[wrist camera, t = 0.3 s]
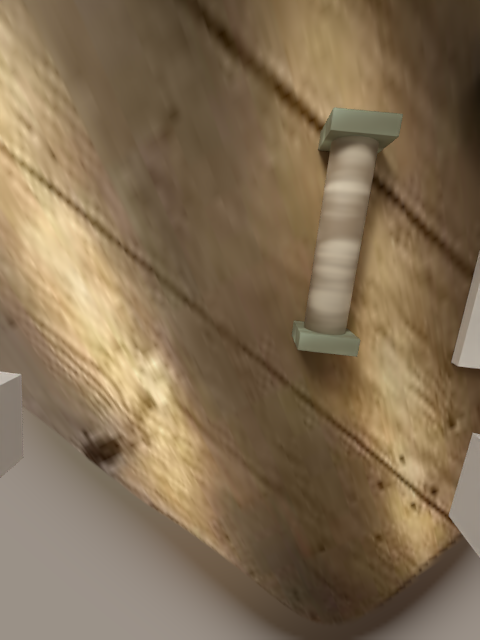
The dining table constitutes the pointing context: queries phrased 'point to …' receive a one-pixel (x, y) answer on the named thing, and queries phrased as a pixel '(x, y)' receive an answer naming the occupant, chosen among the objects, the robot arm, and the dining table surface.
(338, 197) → the column
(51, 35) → the dining table surface
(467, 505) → the robot arm
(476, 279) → the bracket
